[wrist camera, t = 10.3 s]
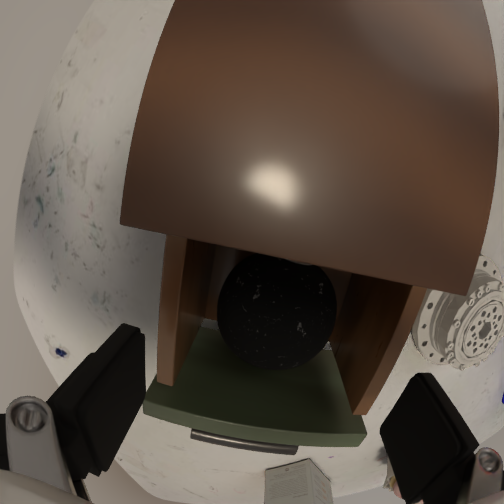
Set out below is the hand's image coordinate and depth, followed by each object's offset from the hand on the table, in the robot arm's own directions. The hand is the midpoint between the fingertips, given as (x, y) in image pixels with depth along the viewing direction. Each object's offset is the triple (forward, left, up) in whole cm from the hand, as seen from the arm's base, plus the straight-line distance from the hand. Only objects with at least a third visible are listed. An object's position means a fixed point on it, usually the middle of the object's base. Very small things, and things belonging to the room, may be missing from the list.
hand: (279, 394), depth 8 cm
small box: (+9, -25, -11) cm, 29 cm away
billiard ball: (0, 0, -9) cm, 9 cm away
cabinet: (0, +11, -11) cm, 16 cm away
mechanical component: (+16, 0, -11) cm, 20 cm away
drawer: (0, -1, -10) cm, 10 cm away
